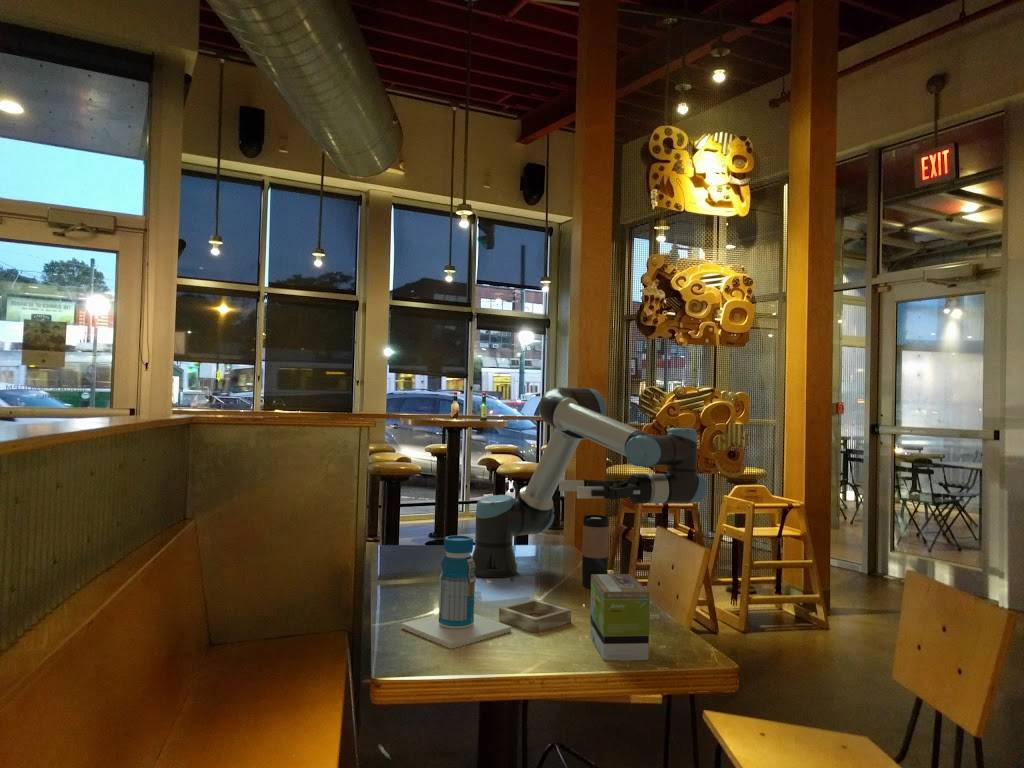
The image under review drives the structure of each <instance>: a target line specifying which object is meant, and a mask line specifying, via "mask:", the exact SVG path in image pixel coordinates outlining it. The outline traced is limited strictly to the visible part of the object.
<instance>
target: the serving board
mask: <svg viewBox="0 0 1024 768" xmlns="http://www.w3.org/2000/svg"><path fill="white" fill-rule="evenodd" d="M401 629H402V630H404V629H405V630H404V631H406V630H407V632H409V633H411V632H412V633H411V634H414V635H416V636H418V635H419V637H421V638H423V637H424V638H423V639H425V638H426V640H428V641H430V640H431V641H430V642H433V643H435V642H436V644H437V643H438V644H437V645H440V644H441V645H440V646H442V645H443V646H442V647H444V648H447V647H448V648H447V649H449V648H450V650H453V649H456V647H457V648H460V647H463V645H464V646H466V644H467V645H470V643H471V644H475V643H477V641H478V642H480V640H481V641H485V640H487V638H488V639H491V638H490V637H492V638H494V636H495V637H499V636H501V634H502V635H505V634H504V633H506V634H509V633H511V632H512V626H510V625H509V624H506V623H503V622H499V621H496V620H493V619H492V618H491V619H490V618H488V617H485V616H482V615H479V614H478V613H477V614H476V613H474V623H473V625H472V626H470V627H468V628H463V629H450V628H445V627H443V626H441V625H440V624H439V613H438V614H436V615H432V616H425V617H422V618H419V619H418V618H417V619H414V620H410V621H405V622H402V623H401ZM508 632H509V633H508ZM498 635H499V636H498ZM484 639H485V640H484ZM452 648H453V649H452Z"/></svg>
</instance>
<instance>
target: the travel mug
mask: <svg viewBox="0 0 1024 768" xmlns="http://www.w3.org/2000/svg"><path fill="white" fill-rule="evenodd" d="M609 523H610V519H609V516H607V515H599V514H588V515H587V514H586V515H584V516H583V520H582V524H583V526H582V546H581V547H582V553H581V555H582V556H581V559H582V561H581V563H582V564H581V567H582V568H581V570H582V571H581V572H582V575H581V577H582V581H581V583H582V586H583V585H585V586H584V587H586V586H589V587H588V588H590V587H591V574H608V570H609V569H608V568H609V542H610V541H609V539H610V538H609V536H610V535H609V533H610V532H609V530H610V529H609V527H610V524H609Z"/></svg>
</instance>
